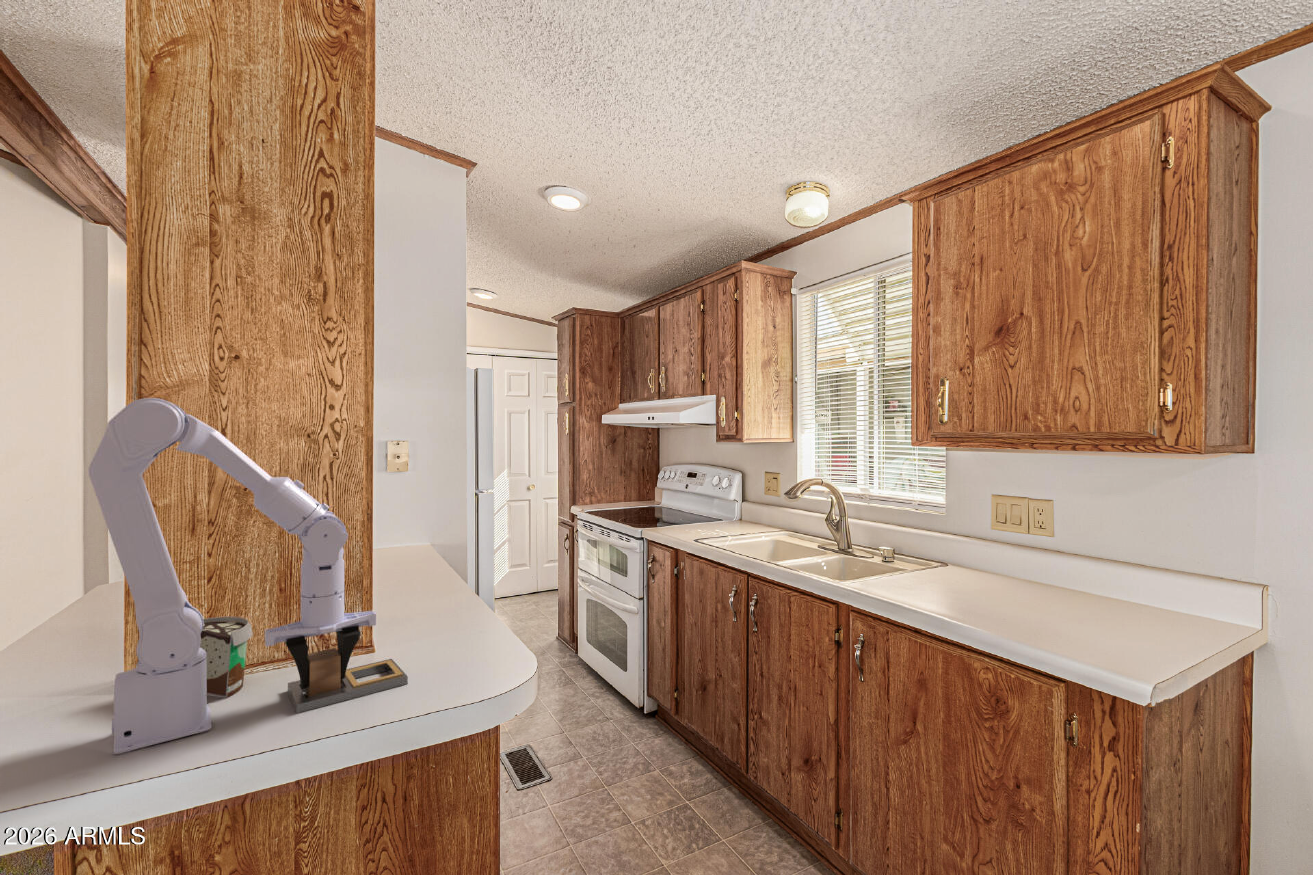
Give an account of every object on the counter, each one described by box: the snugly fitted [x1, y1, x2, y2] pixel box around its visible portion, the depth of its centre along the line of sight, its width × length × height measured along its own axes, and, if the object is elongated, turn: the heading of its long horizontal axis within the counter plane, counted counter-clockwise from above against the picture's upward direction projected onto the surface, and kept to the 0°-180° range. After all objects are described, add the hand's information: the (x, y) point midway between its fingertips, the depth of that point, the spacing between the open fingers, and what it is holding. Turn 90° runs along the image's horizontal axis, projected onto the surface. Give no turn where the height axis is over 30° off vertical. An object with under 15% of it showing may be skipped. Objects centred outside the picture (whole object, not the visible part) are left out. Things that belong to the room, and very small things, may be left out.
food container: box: [200, 616, 254, 699], centre depth 90 cm, size 12×6×10 cm, turn 74°
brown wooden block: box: [305, 647, 342, 697], centre depth 87 cm, size 4×4×6 cm
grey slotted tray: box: [287, 658, 409, 714], centre depth 89 cm, size 15×9×1 cm, turn 130°
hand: (323, 681), depth 87 cm, fingers open, 4 cm apart
